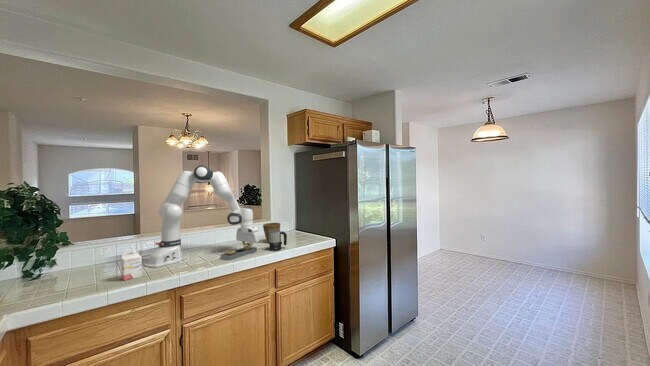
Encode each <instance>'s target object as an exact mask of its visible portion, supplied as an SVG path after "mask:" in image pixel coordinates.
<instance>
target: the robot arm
mask: <svg viewBox="0 0 650 366" xmlns="http://www.w3.org/2000/svg"><path fill="white" fill-rule="evenodd" d="M196 183H197V184H206V183H210V185H211V187H212V189H213V192H214V193H215V195H216V196H217V197H218V198H220V199H222V200H224V201H226V203H227V204H228V205H229V207H230V209H231V211H232V212H229V214H228V215H227V217H226V218H227V219H226V220H227V223H228V224H229V225H232V226H236V225H239V224H240V228H237V229H236V237H235V238H236V239H235V240H236V241H239V242H241V243H242V245H243V244H244V243H250V246H249V248H252V247H253V245H254V244H257V243H259V241H260V232H259V231H260V229H259V228H258V227H257V226H255V225H254V212H253V208H252V207H249V206H242V207H241V206H240V204H239V202H238V200H237V198H236V196H235V195H234V192H233V191H232V189H231V187H230V184H229V182H228V180H227V178H226V177H225V175H224V173H223V172H221V171H214V172H213V170H212V169H210V167H208V166H206V165H204V164H203V165H198V166H196V167H195V168H194V169H193V171H189V170H183V171H181V173H180V174H179V176H178V177H177V178H176V180H175V181H174V184H173V186H172V188H171V190H170V191H169V193H168V195H167V196H166V197H165V199H164V201H163V202H162V204H161V206H160V207H159V209H158V214H159V216H160V217H161V218H162V219H161V220H162V221H161V228H160V233H161V235H160V236H161V237H160V239H161V240H160V242H158V241H157V242H155V246H158V247H157V248H156V249H155V250H154V251H153V252H151V253H150V254H149V256H148V261H147V262H145V263H144V267H146V268H159V267H164V266H169V265H173V264H177V263H181V262H182V261H183V260H184V257H183V253H182V247H181V246H182V239H181V221H182V214H183V211H182V207H181V206H182V205H183V204H184V202H185V201H186V200H187V199H188V196H189V193H190V192H191V189H192V188H193V185H194V184H196Z"/></svg>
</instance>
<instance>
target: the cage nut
mask: <svg viewBox="0 0 650 366" xmlns="http://www.w3.org/2000/svg"><path fill="white" fill-rule="evenodd" d="M249 246H250V242H245V243H244V244H242V248H243V249H245V250H249V249H252V248H249Z"/></svg>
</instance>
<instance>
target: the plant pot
mask: <svg viewBox="0 0 650 366" xmlns="http://www.w3.org/2000/svg"><path fill="white" fill-rule="evenodd" d="M262 229H263V233H264V237H265V238H266V239H265V240H266V241H267V243H268V244H269V232H268V231H269V230H280V231H281V223H280V222H269V223H263V224H262Z"/></svg>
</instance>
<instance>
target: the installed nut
mask: <svg viewBox="0 0 650 366" xmlns="http://www.w3.org/2000/svg"><path fill="white" fill-rule="evenodd" d="M234 250H235V249H234ZM234 250H233V249H230V250H227V251H225V252H224V253H226V255H233V254H236V251H234Z"/></svg>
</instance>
